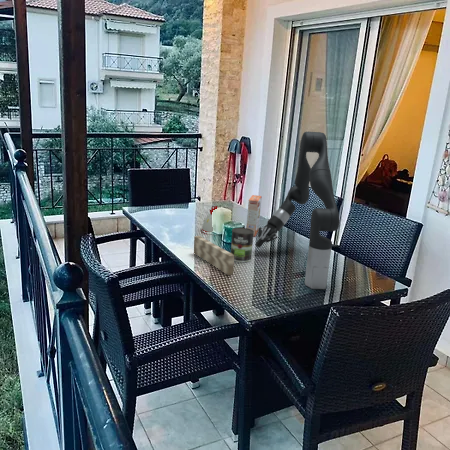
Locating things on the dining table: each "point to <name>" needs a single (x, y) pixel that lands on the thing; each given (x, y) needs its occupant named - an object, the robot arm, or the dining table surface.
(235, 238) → the coffee can
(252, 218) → the cracker box
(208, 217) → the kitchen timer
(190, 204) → the dining table surface
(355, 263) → the dining table surface
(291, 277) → the dining table surface
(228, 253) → the birch board
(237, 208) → the dining table surface
